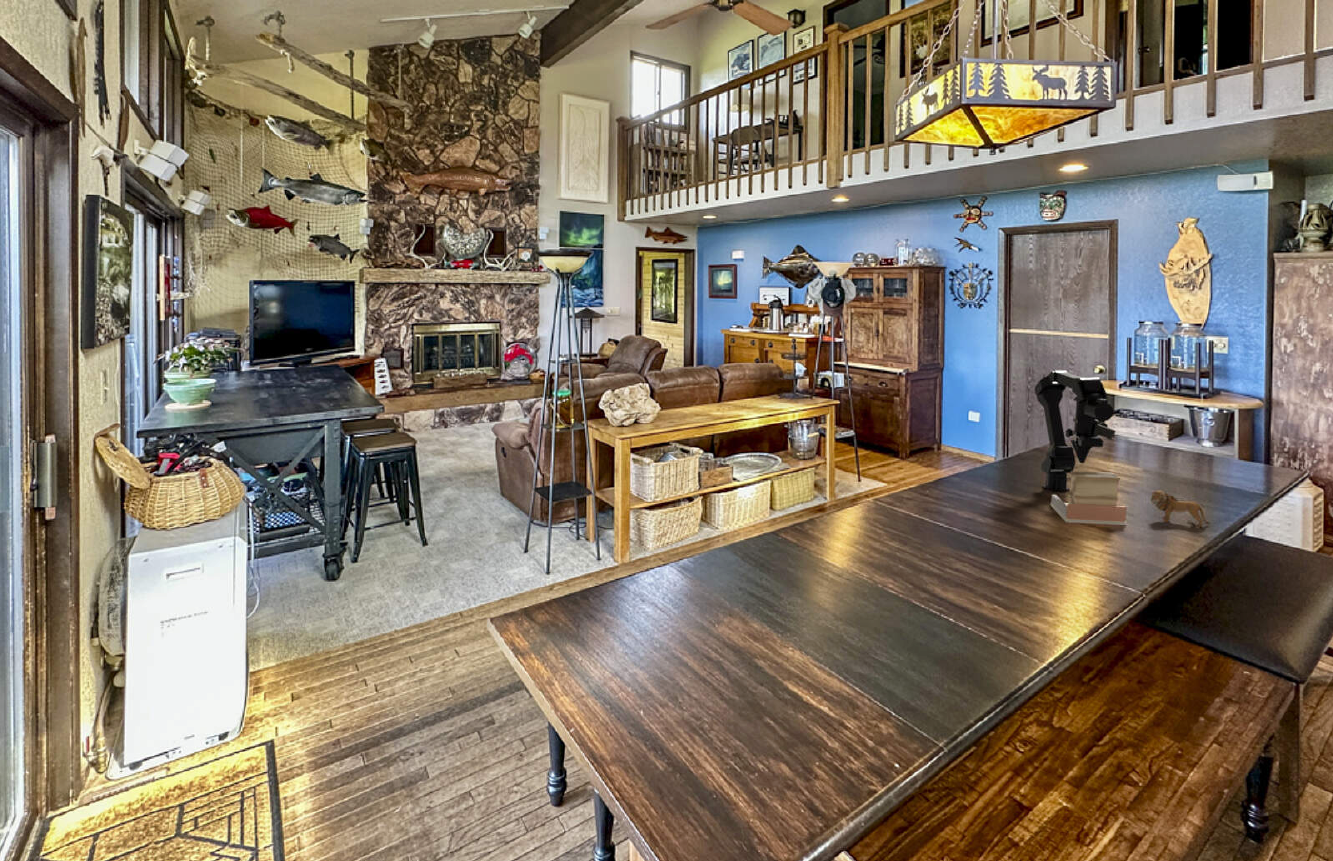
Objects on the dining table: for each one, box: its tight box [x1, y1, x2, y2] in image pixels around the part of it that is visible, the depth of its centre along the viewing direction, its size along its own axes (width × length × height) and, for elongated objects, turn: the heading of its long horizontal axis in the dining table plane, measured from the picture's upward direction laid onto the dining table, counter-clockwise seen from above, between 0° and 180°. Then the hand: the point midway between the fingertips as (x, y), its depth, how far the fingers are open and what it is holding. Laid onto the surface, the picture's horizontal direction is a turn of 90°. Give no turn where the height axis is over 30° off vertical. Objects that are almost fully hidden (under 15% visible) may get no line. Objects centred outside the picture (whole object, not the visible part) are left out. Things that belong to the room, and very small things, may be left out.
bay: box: [1050, 494, 1128, 526], centre depth 216 cm, size 19×16×6 cm
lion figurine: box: [1150, 490, 1210, 528], centre depth 206 cm, size 15×5×9 cm, turn 55°
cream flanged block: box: [1068, 470, 1121, 506], centre depth 210 cm, size 6×11×13 cm, turn 75°
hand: (1081, 463), depth 228 cm, fingers closed
